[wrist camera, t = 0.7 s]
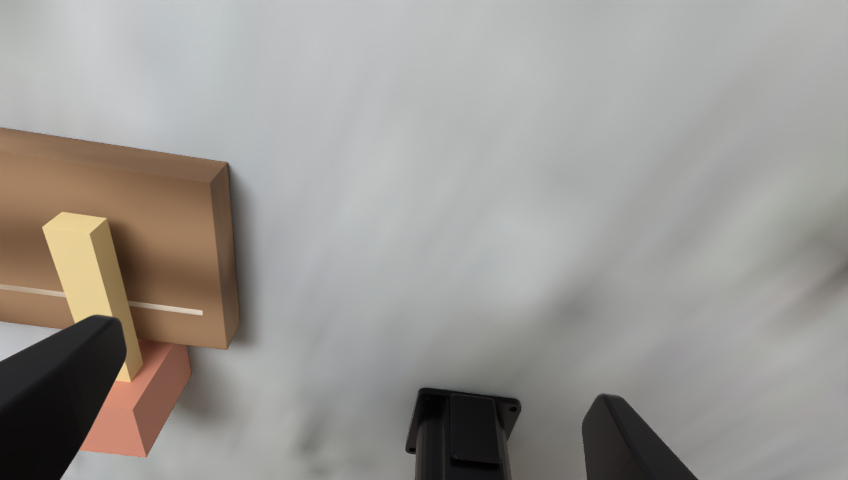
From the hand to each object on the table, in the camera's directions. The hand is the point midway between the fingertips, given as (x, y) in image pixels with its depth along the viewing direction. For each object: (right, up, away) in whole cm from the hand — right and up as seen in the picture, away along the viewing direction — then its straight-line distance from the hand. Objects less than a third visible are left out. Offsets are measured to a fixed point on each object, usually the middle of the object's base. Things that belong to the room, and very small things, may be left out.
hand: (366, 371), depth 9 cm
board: (-18, +3, +14) cm, 24 cm away
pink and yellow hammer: (-14, 0, +17) cm, 22 cm away
